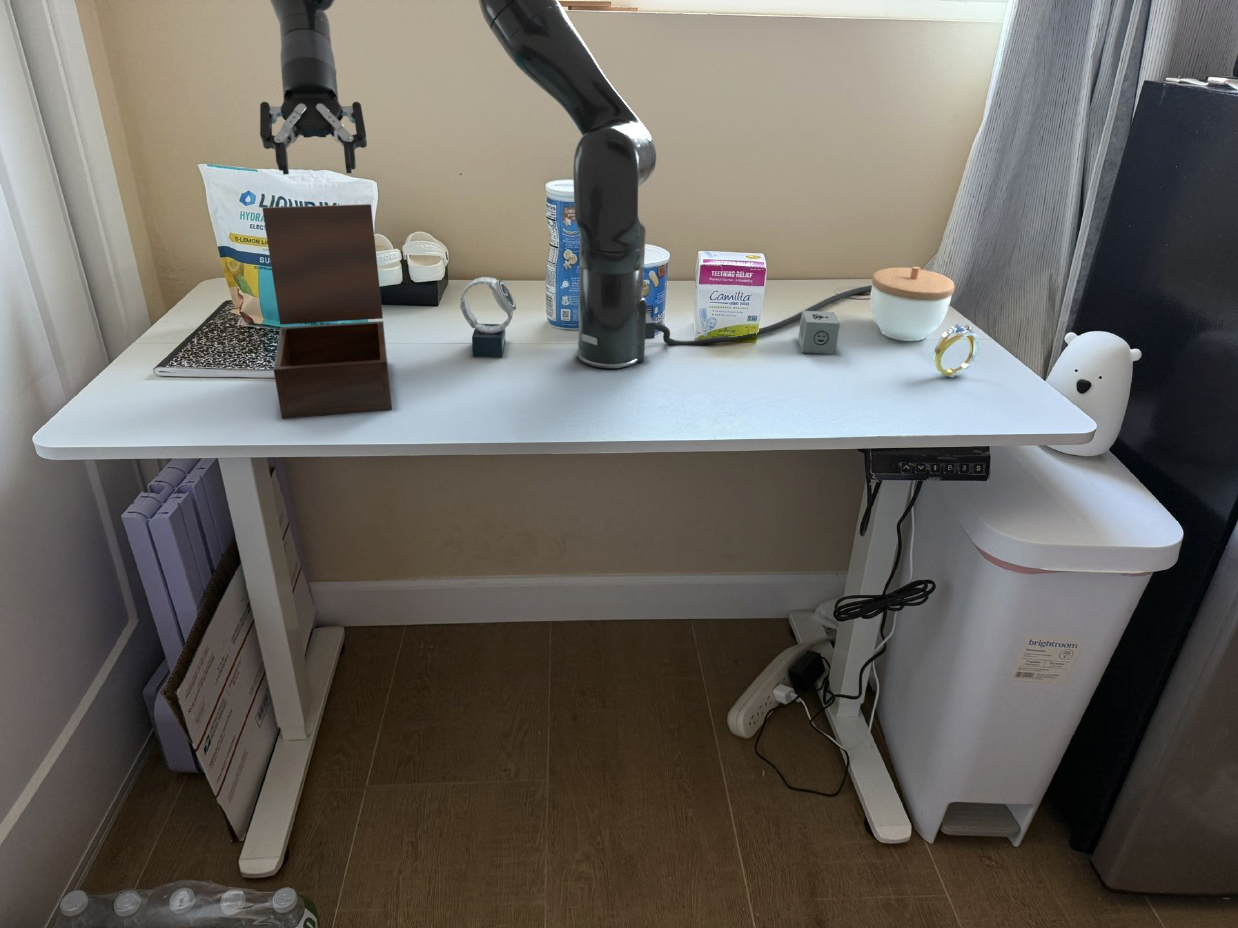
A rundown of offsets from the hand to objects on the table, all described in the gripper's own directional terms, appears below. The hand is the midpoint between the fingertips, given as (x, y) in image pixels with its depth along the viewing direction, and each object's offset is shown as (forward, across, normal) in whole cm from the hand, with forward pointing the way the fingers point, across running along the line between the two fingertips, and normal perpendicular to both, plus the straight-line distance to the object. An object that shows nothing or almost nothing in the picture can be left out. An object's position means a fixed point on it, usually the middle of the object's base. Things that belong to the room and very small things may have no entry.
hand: (317, 171), depth 126 cm
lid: (+16, 0, -2) cm, 16 cm away
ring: (+40, +87, -5) cm, 96 cm away
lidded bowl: (+28, +89, +7) cm, 94 cm away
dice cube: (+30, +72, +5) cm, 78 cm away
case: (+32, 0, +3) cm, 32 cm away
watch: (+25, +22, +10) cm, 35 cm away
